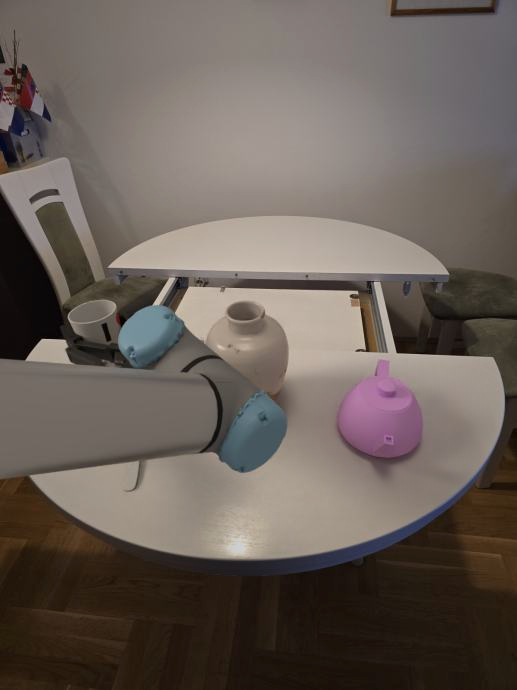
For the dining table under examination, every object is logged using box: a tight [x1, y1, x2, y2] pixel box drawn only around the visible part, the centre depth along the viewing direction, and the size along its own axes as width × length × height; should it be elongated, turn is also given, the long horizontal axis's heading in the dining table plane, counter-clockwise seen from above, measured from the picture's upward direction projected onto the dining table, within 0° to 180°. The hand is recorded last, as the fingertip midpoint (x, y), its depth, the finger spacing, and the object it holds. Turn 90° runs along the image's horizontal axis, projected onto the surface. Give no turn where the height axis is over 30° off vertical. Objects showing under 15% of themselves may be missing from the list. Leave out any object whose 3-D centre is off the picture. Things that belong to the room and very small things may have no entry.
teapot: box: [336, 358, 424, 459], centre depth 74 cm, size 22×16×12 cm
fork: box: [121, 461, 141, 492], centre depth 77 cm, size 3×21×3 cm, turn 179°
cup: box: [67, 299, 121, 363], centre depth 73 cm, size 8×8×10 cm
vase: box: [204, 300, 290, 403], centre depth 78 cm, size 16×16×23 cm
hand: (85, 322), depth 75 cm, fingers closed on cup, 8 cm apart
